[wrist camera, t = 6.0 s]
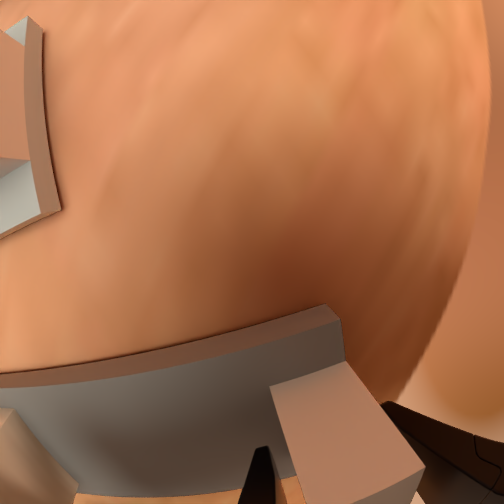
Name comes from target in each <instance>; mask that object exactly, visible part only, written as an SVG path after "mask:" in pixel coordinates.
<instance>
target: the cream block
mask: <svg viewBox="0 0 504 504" xmlns="http://www.w3.org/2000/svg"><path fill="white" fill-rule="evenodd" d="M78 485H79V483H78V482H77V481H76V480H75V479H73V478H72V477H71V476H70V475H69V474H68V473H67V472H66V471H65V470H64V468H63V467H62V466H61V465H60V464H59V463H58V462H57V461H56V460H55V459H54V458H53V457H52V456H51V455H50V453H49V452H48V451H47V450H46V449H45V448H44V446H43V445H42V444H41V443H40V442H39V441H38V439H37V438H36V437H35V436H34V434H33V433H32V432H31V431H30V429H29V428H28V427H27V425H26V424H25V423H24V421H23V420H22V419H21V417H20V416H19V415H18V413H17V412H16V410H15V409H13V408H0V504H73V501H74V498H75V495H76V492H77V489H78Z"/></svg>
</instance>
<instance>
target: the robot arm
mask: <svg viewBox="0 0 504 504" xmlns="http://www.w3.org/2000/svg"><path fill="white" fill-rule="evenodd" d="M380 406H381V408H382V409H383V410H384V412H385V413H386V414H387V416H388V417H389V418H390V420H391V421H392V422H393V424H394V425H395V426H396V428H397V429H398V430H399V432H400V433H401V434H402V436H403V437H404V438H405V440H406V441H407V442H408V444H409V445H410V446H411V448H412V449H413V450H414V452H415V453H416V454H417V456H418V457H419V458H420V460H421V461H422V462H423V464H424V465H425V466H426V467H425V470H424V472H423V475H422V478H421V480H420V483H419V485H418V487H417V490H416V491H417V492H418V494H419V495H420V497H421V498H422V499H423V501H424V502H425V504H504V443H502V442H498V441H494V440H490V439H487V438H483V437H481V436H478V435H474V436H473V434H472V433H469V432H466V431H463V430H461V429H458V428H455V427H453V426H450V425H447V424H445V423H442V422H440V421H437V420H434V419H432V418H430V417H427V416H425V415H422V414H420V413H417V412H415V411H413V410H410V409H408V408H405V407H403V406H401V405H399V404H396V403H394V402H392V401H386V402H384V403H382V404H380ZM238 504H287V501H286V497H285V493H284V490H283V487H282V483H281V480H280V477H279V473H278V470H277V467H276V463H275V460H274V458H273V455H272V453H271V450H270V448H269V446H267V445H266V446H262V447H258V448H256V449H255V451H254V454H253V457H252V461H251V464H250V467H249V470H248V473H247V477H246V480H245V483H244V486H243V489H242V492H241V495H240V498H239V501H238Z"/></svg>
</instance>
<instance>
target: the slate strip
mask: <svg viewBox="0 0 504 504" xmlns="http://www.w3.org/2000/svg"><path fill="white" fill-rule="evenodd" d="M42 32H43V29H42V28H41V27H40V26H39V25H38V24H37V23H35V22H34V21H33V20H32V19H31V18H30V17H29V16H27V17H25V18H24V19H22V20H21V21H19V22H18V23H16V24H15V25H13V26H12V27H11V28H9V29H8V30H6V31H5V32H3V31H2V30H0V239H1V238H3V237H5V236H7V235H9V234H11V233H13V232H15V231H17V230H19V229H21V228H23V227H25V226H27V225H29V224H31V223H33V222H36V221H38V220H40V219H42V218H44V217H46V216H49V215H51V214H53V213H55V212H58V211H60V210H61V206H60V202H59V198H58V194H57V189H56V185H55V180H54V175H53V170H52V164H51V159H50V153H49V146H48V140H47V132H46V124H45V115H44V104H43V89H42Z"/></svg>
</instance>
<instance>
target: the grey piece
mask: <svg viewBox="0 0 504 504" xmlns="http://www.w3.org/2000/svg"><path fill="white" fill-rule="evenodd" d="M0 408H13V409H15V410H16V412H17V413H18V415H19V416H20V417H21V419H22V420H23V421H24V423H25V424H26V425H27V427H28V428H29V429H30V431H31V432H32V433H33V434H34V436H35V437H36V438H37V439H38V441H39V442H40V443H41V444H42V445H43V446H44V448H45V449H46V450H47V451H48V452H49V453H50V455H51V456H52V457H53V458H54V459H55V460H56V461H57V462H58V463H59V464H60V465H61V466H62V467H63V468H64V470H65V471H66V472H67V473H68V474H69V475H70V476H71V477H72V478H73V479H75V480H76V481H77V482H78V483H79V485H78V489H77V492H76V493H83V494H91V495H101V496H115V497H175V496H189V495H200V494H208V493H216V492H223V491H229V490H235V489H241V488H243V486H244V483H245V480H246V477H247V473H248V470H249V467H250V464H251V461H252V457H253V454H254V451H255V449H256V448H258V447H262V446H266V445H267V446H269V448H270V450H271V453H272V455H273V458H274V460H275V463H276V467H277V470H278V473H279V477H280V480H281V479H285V478H289V477H292V476H296V475H297V477H298V480H299V483H300V486H301V489H302V492H303V495H304V498H305V501H306V504H410V503H411V501H412V499H413V497H414V494H415V492H416V490H417V487H418V485H419V483H420V480H421V478H422V475H423V472H424V470H425V467H426V466H425V465H424V464H423V462H422V461H421V460H420V458H419V457H418V456H417V454H416V453H415V452H414V450H413V449H412V448H411V446H410V445H409V444H408V442H407V441H406V440H405V438H404V437H403V436H402V434H401V433H400V432H399V430H398V429H397V428H396V426H395V425H394V424H393V422H392V421H391V420H390V418H389V417H388V416H387V414H386V413H385V412H384V410H383V409H382V408H381V406H380V405H379V404H378V402H377V401H376V400H375V398H374V397H373V396H372V394H371V393H370V392H369V391H368V389H367V388H366V387H365V385H364V384H363V383H362V381H361V380H360V379H359V377H358V376H357V375H356V373H355V372H354V371H353V369H352V368H351V367H350V366H349V364H348V363H347V362H346V358H345V349H344V341H343V333H342V326H341V319H340V318H339V317H338V316H337V315H336V314H335V313H334V312H333V311H332V309H331V308H330V307H329V306H328V305H327V304H326V303H325V304H322V305H319V306H316V307H313V308H310V309H307V310H304V311H300V312H297V313H294V314H291V315H288V316H284V317H281V318H278V319H275V320H271V321H268V322H264V323H261V324H258V325H254V326H251V327H247V328H243V329H240V330H236V331H233V332H229V333H225V334H221V335H217V336H214V337H210V338H206V339H202V340H198V341H194V342H190V343H185V344H181V345H177V346H173V347H168V348H164V349H159V350H155V351H150V352H145V353H141V354H136V355H131V356H126V357H120V358H115V359H110V360H104V361H99V362H93V363H87V364H81V365H74V366H68V367H61V368H54V369H46V370H38V371H30V372H20V373H10V374H0Z"/></svg>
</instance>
